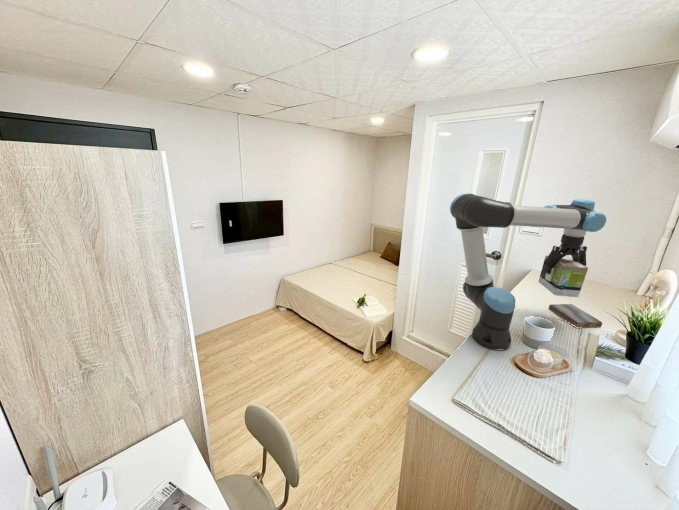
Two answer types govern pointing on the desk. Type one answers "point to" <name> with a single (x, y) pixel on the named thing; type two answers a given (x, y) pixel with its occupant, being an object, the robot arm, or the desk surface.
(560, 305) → the plate
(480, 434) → the desk surface
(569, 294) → the tea box
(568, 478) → the desk surface
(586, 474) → the desk surface
